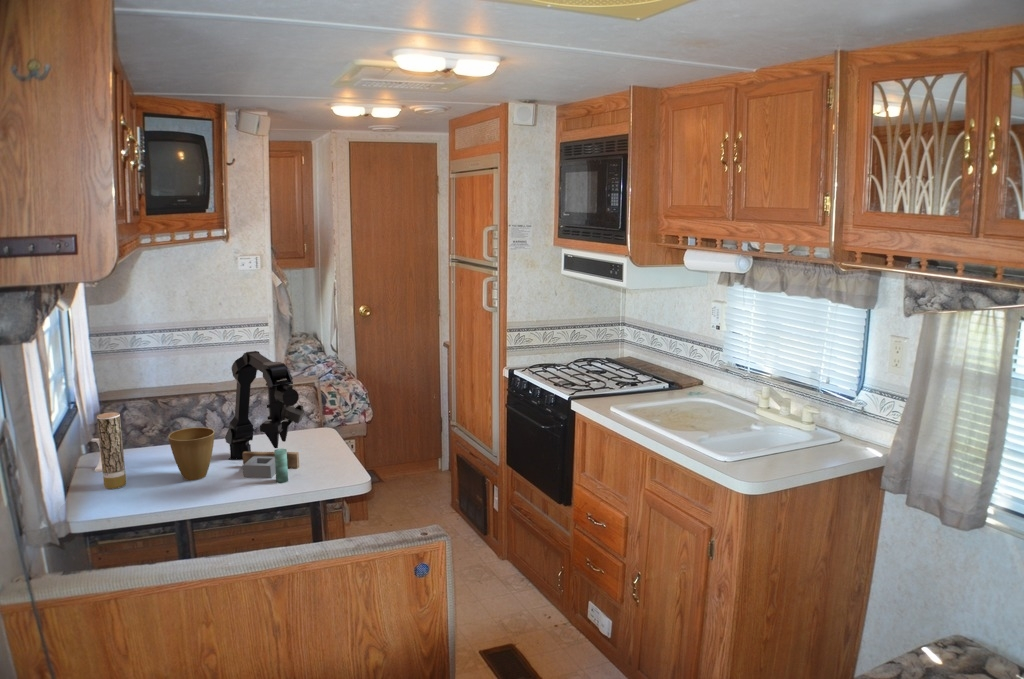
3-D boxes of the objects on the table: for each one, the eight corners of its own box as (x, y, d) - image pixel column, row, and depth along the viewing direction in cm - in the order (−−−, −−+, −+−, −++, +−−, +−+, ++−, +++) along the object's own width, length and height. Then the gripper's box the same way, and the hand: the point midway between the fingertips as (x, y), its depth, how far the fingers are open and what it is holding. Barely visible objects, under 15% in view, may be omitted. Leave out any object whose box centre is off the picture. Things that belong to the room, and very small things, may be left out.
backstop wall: (243, 467, 281) (242, 453, 280) (245, 465, 282) (244, 451, 282) (297, 468, 279) (296, 454, 278) (299, 466, 281) (298, 452, 280)
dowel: (274, 482, 265) (272, 452, 263) (278, 478, 269) (276, 448, 267) (285, 483, 265) (284, 452, 263) (289, 479, 269) (288, 448, 267)
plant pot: (163, 478, 270) (160, 434, 267) (204, 467, 281) (200, 424, 279) (185, 488, 261) (181, 442, 258) (225, 476, 272) (222, 432, 269)
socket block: (243, 477, 270) (242, 465, 270) (254, 467, 280) (253, 456, 279) (271, 478, 270) (270, 465, 269) (281, 468, 280) (280, 456, 279)
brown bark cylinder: (111, 491, 258) (104, 418, 254) (100, 487, 262) (92, 416, 257) (130, 485, 264) (123, 414, 260) (119, 481, 267) (112, 411, 263)
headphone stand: (94, 471, 277) (91, 439, 275) (102, 466, 283) (99, 434, 281) (107, 471, 278) (104, 439, 276) (115, 465, 284) (112, 434, 281)
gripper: (291, 407, 252) (293, 453, 255) (309, 393, 271) (311, 436, 273) (257, 407, 253) (260, 453, 256) (278, 393, 271) (281, 436, 274)
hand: (280, 444), depth 265 cm, fingers open, 7 cm apart
